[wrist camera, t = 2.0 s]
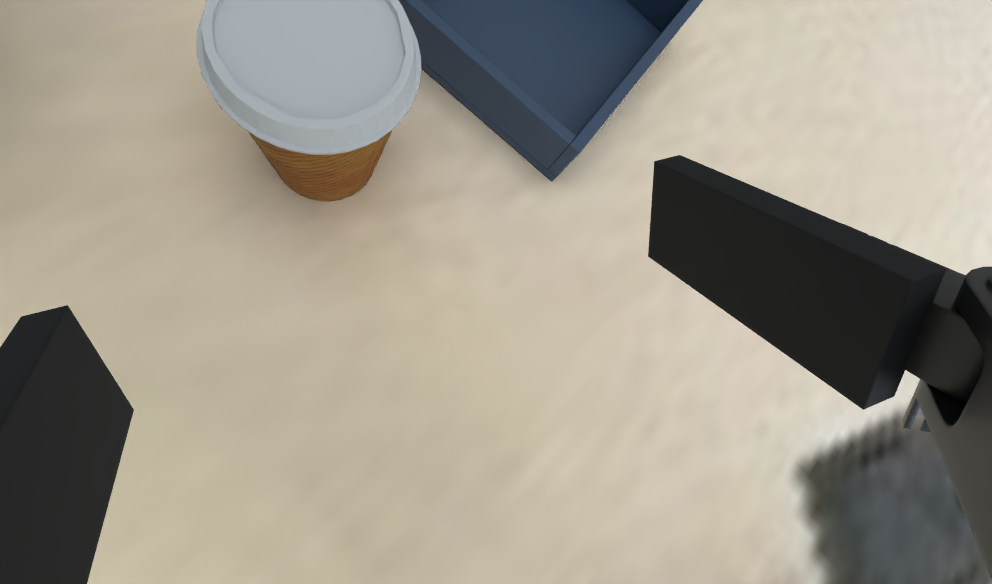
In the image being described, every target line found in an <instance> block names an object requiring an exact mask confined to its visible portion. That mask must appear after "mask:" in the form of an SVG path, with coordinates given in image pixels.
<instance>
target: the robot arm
mask: <svg viewBox="0 0 992 584" xmlns="http://www.w3.org/2000/svg"><path fill="white" fill-rule="evenodd" d="M648 257H650V258H651V259H653V260H654V261H655V262H657V263H658V264H660V265H661V266H662V267H664V268H665V269H667V270H668V271H669V272H671V273H672V274H674V275H675V276H676V277H678V278H679V279H681V280H682V281H684V282H685V283H686V284H688V285H689V286H691V287H692V288H693V289H695V290H696V291H698V292H699V293H700V294H702V295H703V296H705V297H706V298H707V299H709V300H710V301H712V302H713V303H714V304H716V305H717V306H719V307H720V308H721V309H723V310H724V311H726V312H727V313H728V314H730V315H731V316H733V317H734V318H735V319H737V320H738V321H740V322H741V323H742V324H744V325H745V326H747V327H748V328H749V329H751V330H752V331H754V332H755V333H757V334H758V335H759V336H761V337H762V338H764V339H765V340H766V341H768V342H769V343H771V344H772V345H773V346H775V347H776V348H778V349H779V350H780V351H782V352H783V353H785V354H786V355H787V356H789V357H790V358H792V359H793V360H794V361H796V362H797V363H799V364H800V365H801V366H803V367H804V368H806V369H807V370H808V371H810V372H811V373H813V374H814V375H815V376H817V377H818V378H820V379H821V380H822V381H824V382H825V383H827V384H828V385H830V386H831V387H832V388H834V389H835V390H837V391H838V392H839V393H841V394H842V395H844V396H845V397H846V398H848V399H849V400H851V401H852V402H853V403H855V404H856V405H858V406H859V407H860V408H862V409H863V410H864V409H866V408H868V407H870V406H873V405H875V404H877V403H880V402H882V401H884V400H886V399H889V398H891V397H893V396H894V395H895V393H896V391H897V388H898V386H899V383H900V381H901V378H902V376H903V374H904V371H905V370H907V371H908V372H910V373H912V374H913V375H915V376H917V377H918V378H920V381H919V384H918V386H917V388H916V390H915V393H914V395H913V397H912V400H911V402H910V404H909V406H908V409H907V411H906V413H905V416H904V418H903V428H908V429H911V426H912V424H913V422H914V420H915V418H916V416H917V415H924V417H925V420H924V422H923V424H922V426H921V429H920V430H921V431H927V432H931V434H932V436H933V439H934V441H935V444H936V446H937V449H938V451H939V453H940V456H941V458H942V461H943V463H944V465H945V468H946V470H947V473H948V475H949V477H950V480H951V482H952V485H953V487H954V489H955V492H956V494H957V497H958V499H959V501H960V504H961V506H962V509H963V511H964V513H965V516H966V518H967V521H968V523H969V525H970V528H971V530H972V533H973V535H974V537H975V540H976V542H977V545H978V547H979V549H980V552H981V554H982V557H983V559H984V561H985V564H986V566H987V569H988V571H989V573H990V576H991V578H992V267H981V268H977V269H973V270H971V271H970V272H969V273H968V274H967V275H963V274H961V273H958V272H956V271H953V270H951V269H949V268H946V267H944V266H942V265H939V264H937V263H935V262H932V261H930V260H927V259H925V258H923V257H920V256H918V255H916V254H913V253H911V252H909V251H906V250H904V249H901V248H899V247H897V246H894V245H891V244H888V243H887V242H885V241H883V240H880V239H878V238H875V237H873V236H869V235H868V234H866V233H864V232H861V231H859V230H856V229H854V228H852V227H849V226H847V225H845V224H841V223H839V222H836V221H834V220H832V219H829V218H827V217H825V216H822V215H820V214H817V213H815V212H813V211H810V210H808V209H806V208H803V207H801V206H799V205H796V204H794V203H791V202H789V201H787V200H784V199H782V198H780V197H777V196H775V195H773V194H770V193H768V192H766V191H763V190H761V189H758V188H756V187H754V186H751V185H749V184H747V183H744V182H742V181H740V180H737V179H735V178H732V177H730V176H728V175H725V174H723V173H721V172H718V171H716V170H714V169H711V168H709V167H707V166H704V165H702V164H699V163H697V162H695V161H692V160H690V159H688V158H685V157H683V156H681V155H679V156H674V157H670V158H666V159H662V160H658V161H654V177H653V192H652V207H651V222H650V238H649V253H648ZM133 411H134V409H133V408H132V406H131V405H130V403H129V401H128V400H127V398H126V397H125V395H124V394H123V392H122V390H121V389H120V387H119V386H118V384H117V383H116V381H115V379H114V378H113V376H112V375H111V373H110V371H109V370H108V368H107V367H106V365H105V364H104V362H103V360H102V359H101V357H100V356H99V354H98V352H97V351H96V349H95V348H94V346H93V345H92V343H91V341H90V340H89V338H88V337H87V335H86V334H85V332H84V330H83V329H82V327H81V326H80V324H79V322H78V321H77V319H76V318H75V316H74V315H73V313H72V311H71V310H70V308H69V307H68V305H67V306H63V307H59V308H55V309H51V310H47V311H42V312H38V313H34V314H30V315H26V316H22V317H21V318H20V319H19V321H18V322H17V324H16V325H15V327H14V328H13V330H12V331H11V333H10V334H9V335H8V337H7V338H6V340H5V341H4V343H3V344H2V346H1V347H0V584H87V581H88V577H89V574H90V570H91V566H92V563H93V559H94V555H95V552H96V548H97V544H98V540H99V537H100V533H101V529H102V526H103V522H104V518H105V514H106V511H107V507H108V503H109V500H110V496H111V492H112V489H113V485H114V481H115V477H116V474H117V470H118V466H119V463H120V459H121V455H122V451H123V448H124V444H125V440H126V437H127V433H128V429H129V426H130V422H131V418H132V414H133Z"/></svg>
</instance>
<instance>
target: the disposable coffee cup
mask: <svg viewBox="0 0 992 584" xmlns="http://www.w3.org/2000/svg"><path fill="white" fill-rule="evenodd" d="M197 56H198V60H199V64H200V68H201V72H202V76H203V78H204V80H205V82H206V84H207V86H208V88H209V90H210V92H211V94H212V96H213V97H214V99H215V100H216V101H217V103H218V104H219V106H220V107H221V108H222V109H223V110H224V111H225V112H226V113H227V114H228V115H229V116H230V117H231V118H232V119H233V120H234V121H235V122H236V123H238V124H239V125H240V126H241V127H242V128H244V129H245V130H247V131H248V132H249V133H250V135H251V136H252V138H253V139H254V140H255V142H256V143H257V145H258V146H259V148H260V149H261V150H262V152H263V153H264V155H265V156H266V158H267V159H268V161H269V162H270V163H271V165H272V166H273V167H274V169H275V170H276V171H277V173H278V175H279V176H280V177H281V179H282V180H283V181H284V183H285V184H287V185H288V186H289V187H290V188H291V189H292V190H294V191H295V192H297V193H298V194H300V195H302V196H305V197H307V198H310V199H314V200H319V201H334V200H341V199H343V198H346V197H349V196H351V195H353V194H355V193H356V192H358V191H359V190H360V189H361V188H363V187H364V186H365V185H366V183H367V182H368V180H369V179H370V177H371V176H372V173H373V171H374V168H375V166H376V164H377V162H378V160H379V158H380V156H381V154H382V151H383V149H384V147H385V144H386V142H387V140H388V138H389V136H390V134H391V132H392V130H393V129H394V128H395V127H396V126H397V125H398V123H399V122H400V121H401V120H402V119H403V118H404V117H405V116H406V114H407V113H408V111H409V109H410V107H411V105H412V104H413V101H414V99H415V97H416V94H417V92H418V89H419V83H420V76H421V55H420V50H419V45H418V41H417V38H416V35H415V33H414V30H413V28H412V26H411V24H410V22H409V19H408V17H407V15H406V13H405V11H404V9H403V7H402V5H401V4H400V2H399V1H398V0H206V1H205V8H204V11H203V14H202V18H201V21H200V24H199V27H198V31H197Z"/></svg>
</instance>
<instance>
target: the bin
mask: <svg viewBox="0 0 992 584" xmlns="http://www.w3.org/2000/svg"><path fill="white" fill-rule="evenodd" d="M398 1H399V2H400V4H401V5H402V7H403V9H404V11H405V13H406V15H407V17H408V19H409V22H410V24H411V26H412V28H413V30H414V33H415V35H416V38H417V41H418V45H419V50H420V55H421V68H422V69H423V70H424V71H425V72H426V73H428V74H429V75H430V76H431V77H432V78H433V79H434V80H436V81H437V82H438V83H439V84H440V85H441V86H443V87H444V88H445V89H446V90H447V91H448V92H449V93H451V94H452V95H453V96H454V97H455V98H456V99H458V100H459V101H460V102H461V103H462V104H463V105H464V106H466V107H467V108H468V109H469V110H470V111H471V112H473V113H474V114H475V115H476V116H477V117H478V118H479V119H481V120H482V121H483V122H484V123H485V124H486V125H488V126H489V127H490V128H491V129H492V130H493V131H494V132H496V133H497V134H498V135H499V136H500V137H501V138H503V139H504V140H505V141H506V142H507V143H508V144H509V145H511V146H512V147H513V148H514V149H515V150H516V151H518V152H519V153H520V154H521V155H522V156H523V157H524V158H526V159H527V160H528V161H529V162H530V163H531V164H533V165H534V166H535V167H536V168H537V169H538V170H539V171H541V172H542V173H543V174H544V175H545V176H546V177H548V178H549V179H550V180H551V181H553V180H554V179H555V178H556V177H557V176H558V175H559V174H560V173H561V172H562V171H563V170H564V169H565V168H566V167H567V166H568V165H569V163H570V162H571V161H572V160H573V159H574V158H575V157H576V156H577V155H578V154H579V153H580V152H581V151H582V149H583V148H584V147H585V146H586V144H587V143H588V142H589V141H590V139H591V138H592V137H593V136H594V134H595V133H596V132H597V131H598V130H599V128H600V127H601V126H602V125H603V123H604V122H605V121H606V120H607V118H608V117H609V116H610V115H611V113H612V112H613V111H614V110H615V108H616V107H617V106H618V105H619V104H620V102H621V101H622V100H623V99H624V97H625V96H626V95H627V94H628V92H629V91H630V90H631V89H632V87H633V86H634V85H635V84H636V83H637V81H638V80H639V79H640V78H641V76H642V75H643V74H644V73H645V71H646V70H647V69H648V68H649V66H650V65H651V64H652V63H653V61H654V60H655V59H656V58H657V57H658V55H659V54H660V53H661V52H662V50H663V49H664V48H665V47H666V45H667V44H668V43H669V42H670V40H671V39H672V38H673V37H674V35H675V34H676V33H677V32H678V31H679V29H680V28H681V27H682V26H683V24H684V23H685V22H686V21H687V19H688V18H689V17H690V16H691V14H692V13H693V12H694V11H695V10H696V8H697V7H698V6H699V5H700V3H701V2H702V1H703V0H398Z"/></svg>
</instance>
